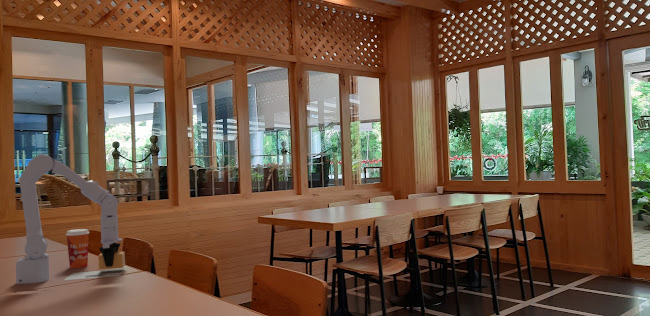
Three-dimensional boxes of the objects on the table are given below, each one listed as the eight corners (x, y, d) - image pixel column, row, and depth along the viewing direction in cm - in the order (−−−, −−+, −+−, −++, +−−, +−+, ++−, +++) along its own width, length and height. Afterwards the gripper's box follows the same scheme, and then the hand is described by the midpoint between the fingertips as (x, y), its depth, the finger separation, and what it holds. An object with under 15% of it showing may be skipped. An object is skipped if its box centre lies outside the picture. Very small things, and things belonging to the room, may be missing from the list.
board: (63, 283, 173) (63, 280, 173) (73, 275, 185) (73, 272, 185) (119, 278, 177) (119, 275, 177) (125, 271, 188) (125, 268, 188)
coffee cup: (70, 272, 190) (69, 232, 191) (64, 269, 197) (63, 230, 197) (93, 268, 196) (92, 229, 196) (87, 265, 202) (86, 228, 202)
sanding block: (98, 269, 181) (98, 255, 182) (101, 266, 186) (101, 253, 186) (122, 267, 183) (122, 253, 183) (125, 265, 188) (124, 251, 188)
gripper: (117, 229, 178) (118, 268, 178) (124, 224, 193) (126, 260, 193) (95, 230, 177) (97, 269, 177) (104, 225, 191) (106, 261, 191)
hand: (110, 265), depth 185 cm, fingers closed on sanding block, 5 cm apart
